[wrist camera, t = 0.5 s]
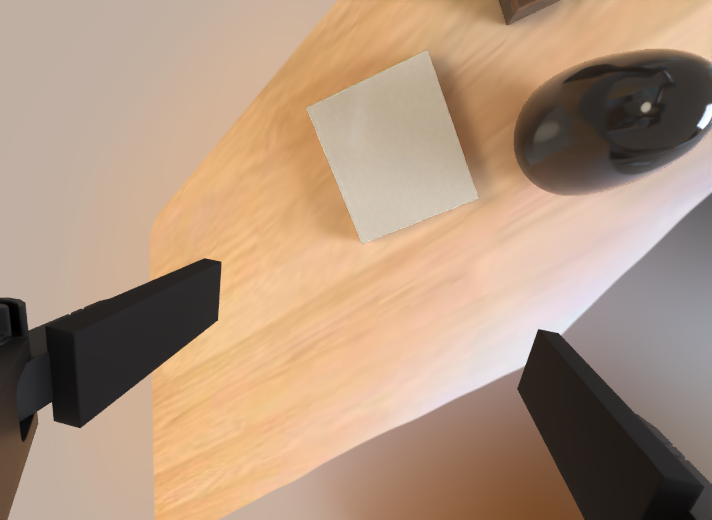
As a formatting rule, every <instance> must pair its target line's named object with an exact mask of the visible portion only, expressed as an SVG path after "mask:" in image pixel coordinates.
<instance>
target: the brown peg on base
mask: <svg viewBox="0 0 712 520" xmlns="http://www.w3.org/2000/svg"><path fill="white" fill-rule="evenodd" d="M557 1H559V0H499V2H500V5H501V8H502V11H503V15H504V18H505V21H506V25H509V24H511V23H513V22H515V21H517V20H519V19H521V18H523V17H525V16H528V15H530V14H532V13H534V12H536V11H538V10H540V9H542V8H544V7H547V6H549V5H551V4H553V3H555V2H557Z"/></svg>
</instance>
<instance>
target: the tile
mask: <svg viewBox="0 0 712 520" xmlns="http://www.w3.org/2000/svg"><path fill="white" fill-rule="evenodd" d="M306 109H307V111H308V114H309V116H310V119H311V121H312V124H313V126H314V128H315V131H316V133H317V136H318V138H319V141H320V143H321V146H322V148H323V150H324V153H325V155H326V158H327V160H328V163H329V165H330V168H331V170H332V172H333V175H334V177H335V180H336V182H337V185H338V187H339V190H340V192H341V194H342V197H343V199H344V202H345V204H346V207H347V209H348V212H349V214H350V217H351V219H352V221H353V224H354V226H355V229H356V231H357V234H358V236H359V239H360V241H361V243H362V244H364V243H367V242H369V241H372V240H374V239H377V238H379V237H382V236H385V235H387V234H390V233H392V232H395V231H397V230H400V229H402V228H405V227H408V226H410V225H413V224H415V223H418V222H420V221H423V220H425V219H428V218H430V217H433V216H436V215H438V214H441V213H443V212H446V211H448V210H451V209H453V208H456V207H459V206H461V205H464V204H466V203H469V202H471V201H474V200H476V199H479V197H478V194H477V192H476V189H475V186H474V183H473V180H472V177H471V174H470V171H469V168H468V165H467V162H466V160H465V157H464V154H463V151H462V148H461V145H460V142H459V139H458V136H457V133H456V130H455V128H454V125H453V122H452V119H451V116H450V113H449V110H448V107H447V104H446V101H445V98H444V96H443V93H442V90H441V87H440V84H439V81H438V78H437V75H436V72H435V69H434V66H433V64H432V61H431V58H430V55H429V52H428V50H425V51H423V52H421V53H419V54H417V55H415V56H413V57H411V58H409V59H407V60H405V61H403V62H401V63H398V64H396V65H394V66H392V67H390V68H388V69H386V70H384V71H382V72H380V73H378V74H376V75H373V76H371V77H369V78H367V79H365V80H363V81H361V82H359V83H357V84H355V85H353V86H351V87H348V88H346V89H344V90H342V91H340V92H338V93H336V94H334V95H332V96H330V97H328V98H326V99H323V100H321V101H319V102H317V103H315V104H313V105H311V106H309V107H307V108H306Z"/></svg>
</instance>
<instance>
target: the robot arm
mask: <svg viewBox="0 0 712 520" xmlns="http://www.w3.org/2000/svg"><path fill="white" fill-rule="evenodd" d="M220 278H221V262H220V261H215V260H210V259H206V258H204V259H202V260H199V261H197V262H195V263H192V264H190V265H188V266H185V267H183V268H181V269H178V270H176V271H174V272H171V273H169V274H167V275H164V276H162V277H160V278H157V279H155V280H152V281H150V282H148V283H146V284H143V285H141V286H138V287H136V288H134V289H131V290H129V291H127V292H124V293H122V294H120V295H117V296H115V297H113V298H110V299H106V300H102V301H98V302H96V303H94V304H91V305H89V306H86V307H84V309H79V310H77V311H74V312H72V313H71V315H69V314H67V315H65V316H62V317H60V318H58V319H55V320H53V321H50V322H48V323H46V324H43V325H41V326H39V327H36V328H34V329H31V330H29V331H28V324H27V314H26V304H25V302H23V301H22V300H20V299H13V298H0V520H7V519H8V516H9V513H10V509H11V506H12V503H13V500H14V497H15V494H16V491H17V488H18V485H19V482H20V478H21V475H22V472H23V469H24V466H25V463H26V460H27V457H28V453H29V450H30V447H31V444H32V441H33V438H34V435H35V432H36V429H37V425H38V415H37V411H38V410H40V409H42V408H43V407H45V406H46V405H48V404H49V403H51V402H52V406H53V417H54V421H56V422H59V423H64V424H67V425H70V426H74V427H78V428H81V427H82V426H84V425H85V424H86V423H87V422H89V421H90V420H91V419H93V418H94V417H95V416H96V415H98V414H99V413H100V412H102V411H103V410H104V409H105V408H107V407H108V406H109V405H110V404H112V403H113V402H114V401H115V400H116V399H118V398H119V397H121V396H122V395H123V394H125V393H126V392H127V391H128V390H130V388H132V387H133V386H135V385H136V384H137V383H139V382H140V381H141V380H142V379H144V378H145V377H146V376H147V375H149V374H150V373H151V372H153V371H154V370H155V369H156V368H158V367H159V366H160V365H161V364H163V363H164V362H165V361H167V360H168V359H169V358H170V357H172V356H173V355H174V354H175V353H177V352H178V351H179V350H181V349H182V348H183V347H184V346H186V345H187V344H188V343H189V342H191V341H192V340H193V339H195V338H196V337H197V336H198V335H200V334H201V333H202V332H204V331H205V330H206V329H207V328H209V327H210V326H211V325H212V324H214V323H215V322H216V321H218V310H219V294H220ZM517 389H518V391H519V393H520V395H521V397H522V399H523V401H524V403H525V405H526V407H527V409H528V411H529V413H530V414H531V416H532V418H533V420H534V422H535V424H536V426H537V428H538V430H539V432H540V434H541V436H542V438H543V440H544V442H545V444H546V446H547V447H548V449H549V451H550V453H551V455H552V457H553V459H554V461H555V463H556V465H557V467H558V469H559V471H560V473H561V475H562V477H563V478H564V480H565V482H566V484H567V486H568V488H569V490H570V492H571V494H572V496H573V498H574V500H575V501H576V504H577V506H578V508H579V509H580V511H581V513H582V515H583V517H584V519H585V520H712V484H711V483H710V482H709V481H708V480H707V479H706V478H705V477H704V476H703V475H702V474H701V473H700V472H699V471H698V470H697V469H696V468H695V467H694V466H693V465H692V464H691V463H690V462H689V461H688V460H685V456H684V455H683V454H682V453H681V452H680V451H679V450H677V448H676V447H673V446H672V443H671V442H670V441H669V440H668V439H667V438H666V437H665V436H664V435H663V434H662V433H661V432H660V431H659V430H658V429H657V428H655V427H654V426H653V425H651V424H650V423H648V422H647V421H646V420H644V419H643V418H642V417H640V416H639V415H637V414H635V413H634V412H633V411H632V410H631V409H630V408H629V407H628V406H627V405H626V404H625V403H624V401H623V400H622V399H621V398H620V397H619V396H618V395H617V394H616V393H615V392H614V391H613V390H612V389H611V388H610V387H609V386H608V385H607V384H606V383H605V382H604V380H603V379H602V378H601V377H600V376H599V375H598V374H597V373H596V372H595V371H594V370H593V369H592V368H591V367H590V366H589V365H588V364H587V363H586V362H585V361H584V359H583V358H582V357H581V356H580V355H579V354H578V353H577V352H576V351H575V350H574V349H573V348H572V347H571V346H570V345H569V344H568V343H567V342H566V341H565V339H564V338H562V336H561V335H560V334H559V333H555V332H550V331H545V330H540V329H538V332H537V334H536V337H535V340H534V343H533V346H532V349H531V351H530V354H529V357H528V360H527V363H526V366H525V368H524V372H523V374H522V377H521V380H520V383H519V386H518V388H517Z"/></svg>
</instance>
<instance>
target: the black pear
mask: <svg viewBox="0 0 712 520" xmlns="http://www.w3.org/2000/svg"><path fill="white" fill-rule="evenodd" d="M711 129H712V62H711V61H709V60H707V59H705V58H703V57H701V56H699V55H696V54H693V53H690V52H686V51H681V50H673V49H645V50H636V51H629V52H623V53H617V54H612V55H607V56H603V57H599V58H596V59H592V60H589V61H586V62H584V63H581V64H578V65H576V66H573V67H571V68H568V69H566V70H564V71H562V72H560V73H558V74H557V75H555V76H553V77H552V78H550V79H549V80H547V81H546V82H545V83H543V84H542V85H541V86H540V87H539V88H538V89H537V90H536V91H535V92H534V93H533V94H532V95H531V96H530V97H529V99H528V100H527V101H526V103H525V105H524V106H523V108H522V110H521V112H520V114H519V117H518V119H517V122H516V126H515V131H514V150H515V155H516V159H517V162H518V164H519V166H520V168H521V170H522V171H523V173H524V174H525V176H526V177H527V178H528V179H529V180H530V181H531V182H532V183H533V184H535V185H536V186H538V187H539V188H541V189H543V190H545V191H547V192H550V193H553V194H557V195H564V196H580V195H589V194H594V193H599V192H603V191H607V190H611V189H614V188H618V187H621V186H624V185H627V184H630V183H632V182H635V181H637V180H640V179H642V178H644V177H646V176H649V175H651V174H653V173H655V172H657V171H659V170H661V169H663V168H665V167H666V166H668V165H670V164H672V163H673V162H675V161H676V160H678V159H679V158H681V157H682V156H684V155H685V154H687V153H688V152H689V151H691V150H692V149H693V148H694V147H696V146H697V145H698V144H699V143H700V142H701V141H702V140H703V139H704V138H705V137H706V135H707V134H708V133H709V132H710V130H711Z"/></svg>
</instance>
